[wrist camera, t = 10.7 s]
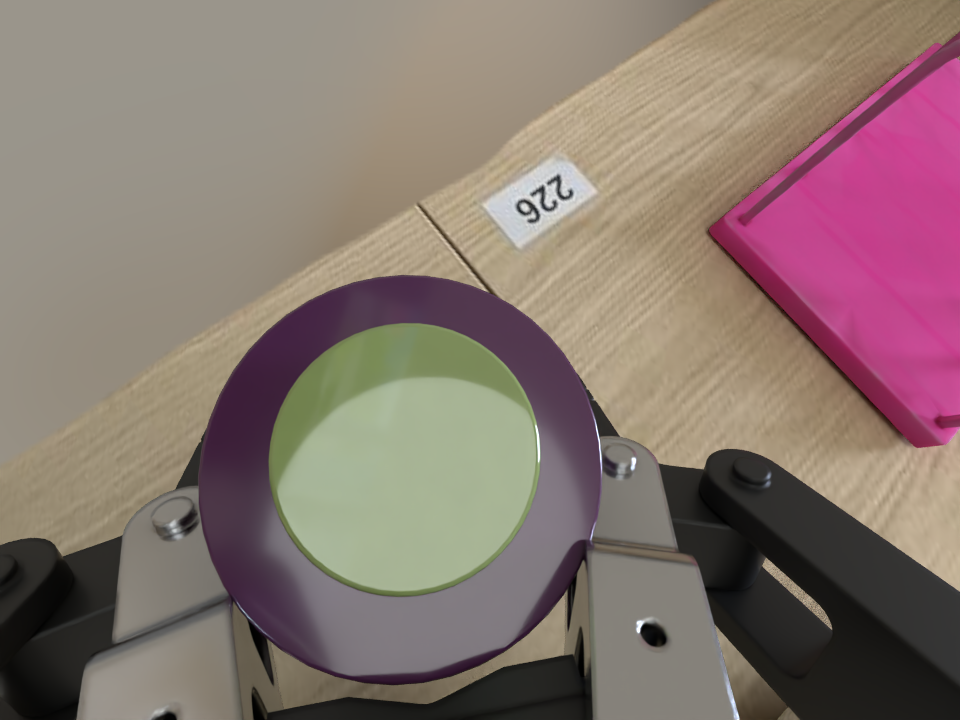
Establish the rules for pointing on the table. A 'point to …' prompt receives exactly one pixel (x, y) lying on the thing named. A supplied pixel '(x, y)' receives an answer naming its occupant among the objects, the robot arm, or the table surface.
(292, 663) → the table surface
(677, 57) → the table surface
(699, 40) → the table surface
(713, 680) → the robot arm
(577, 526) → the purple bottle
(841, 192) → the file sorter
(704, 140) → the table surface
